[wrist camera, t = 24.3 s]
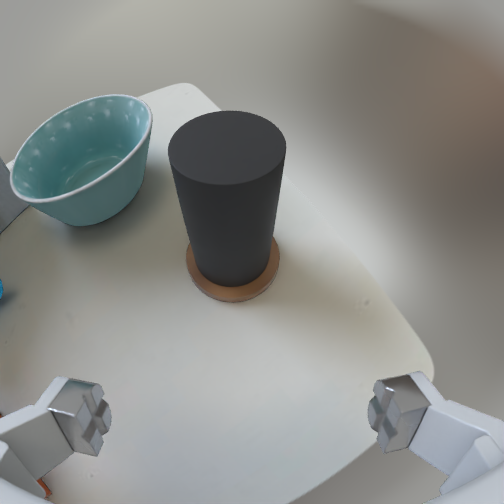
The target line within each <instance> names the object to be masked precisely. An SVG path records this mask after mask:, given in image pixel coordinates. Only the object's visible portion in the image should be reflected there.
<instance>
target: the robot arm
mask: <svg viewBox="0 0 504 504" xmlns="http://www.w3.org/2000/svg"><path fill="white" fill-rule="evenodd" d="M373 392H374V393H375V396H374V397H373V398H372V399H371V400H370V402H369V406H368V420H369V424H370V426H371V428H372V429H373V430H375V431H377V432H378V436H377V441H378V443H379V445H380V447H381V449H382V452H383V454H384V453H389V452H393V451H397V450H401V449H404V448H408V449H409V450H410V451H412V452H413V453H415V454H416V455H418V456H419V457H421V458H422V459H423V460H425V461H427V462H428V463H429V464H431V465H433V466H434V467H435V468H437V469H439V470H440V471H442V472H443V473H445V474H446V475H448V476H449V477H448V478H447V479H446V481H445V482H444V483H443V484H442V485H441V487H440V489H439V491H440V493H441V496H439V497H436V498H435V499H432V500H429V501H427V502H425V503H422V504H504V421H503V420H500V419H497V418H495V417H492V416H490V415H487V414H484V413H482V412H479V411H477V410H474V409H472V408H469V407H467V406H464V405H462V404H459V403H456V402H454V401H452V400H447V401H446V400H445V399H444V398H443V397H442V395H441V394H440V393H439V391H437V389H436V388H435V387H434V385H433V384H432V383H431V382H430V380H429V379H428V378H427V377H426V375H425V374H424V373H423V372H421V371H417V372H413V373H409V374H406V375H401V376H396V377H391V378H386V379H381V380H377V381H376V383H375V385H374V388H373ZM103 395H104V391H103V389H102V386H101V385H99V384H98V383H92V382H87V381H82V380H77V379H72V378H66V377H62V376H58V377H55V379H54V380H53V381H52V383H51V384H50V385H49V386H48V388H47V389H46V390H45V392H44V393H43V394H42V396H41V397H40V398H39V400H38V401H37V402H36V404H35V405H28V406H26V407H24V408H22V409H20V410H17V411H15V412H13V413H11V414H8V415H6V416H4V417H2V418H0V504H55V503H52V502H50V501H48V500H45V499H44V498H45V496H46V492H45V490H44V489H43V488H42V487H41V486H40V485H39V483H38V482H37V480H38V479H39V478H41V477H42V476H44V475H45V474H46V473H48V472H49V471H50V470H52V469H53V468H54V467H56V466H57V465H58V464H60V463H61V462H62V461H64V460H65V459H66V458H68V457H69V456H70V455H72V454H73V453H74V451H75V452H79V453H83V454H87V455H91V456H96V457H97V456H98V454H99V451H100V449H101V447H102V445H103V442H104V441H103V439H102V435H104V434H105V433H107V432H108V431H109V428H110V426H111V417H112V416H111V410H110V407H109V405H108V403H106V402H105V401H104V400H103V399H102V397H103Z"/></svg>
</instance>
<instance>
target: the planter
mask: <svg viewBox="0 0 504 504" xmlns="http://www.w3.org/2000/svg"><path fill="white" fill-rule="evenodd" d="M29 205H30V204H28V203H26V202H25V201H23V200H21V199H20V198H19V197H17V196H16V195H15V193H14V192H13V190H12V188H11V184H10V171H9V170H8V168H7V167H6V165H5V164H4V162H3V160H2V159H1V157H0V233H1V232H2V231H3V230H4V229H5V228H6V227H7V226H8V225H9V224H10V223H11V222H12V221H13V220H14V219H15V218H16V217H17V216H18V215H19V214H20V213H21V212H22V211H23V210H24V209H26V208H27V207H28V206H29Z"/></svg>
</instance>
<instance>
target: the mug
mask: <svg viewBox="0 0 504 504" xmlns="http://www.w3.org/2000/svg"><path fill="white" fill-rule="evenodd" d="M2 293H3V286H2V281H1V279H0V299H1V296H2Z"/></svg>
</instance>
